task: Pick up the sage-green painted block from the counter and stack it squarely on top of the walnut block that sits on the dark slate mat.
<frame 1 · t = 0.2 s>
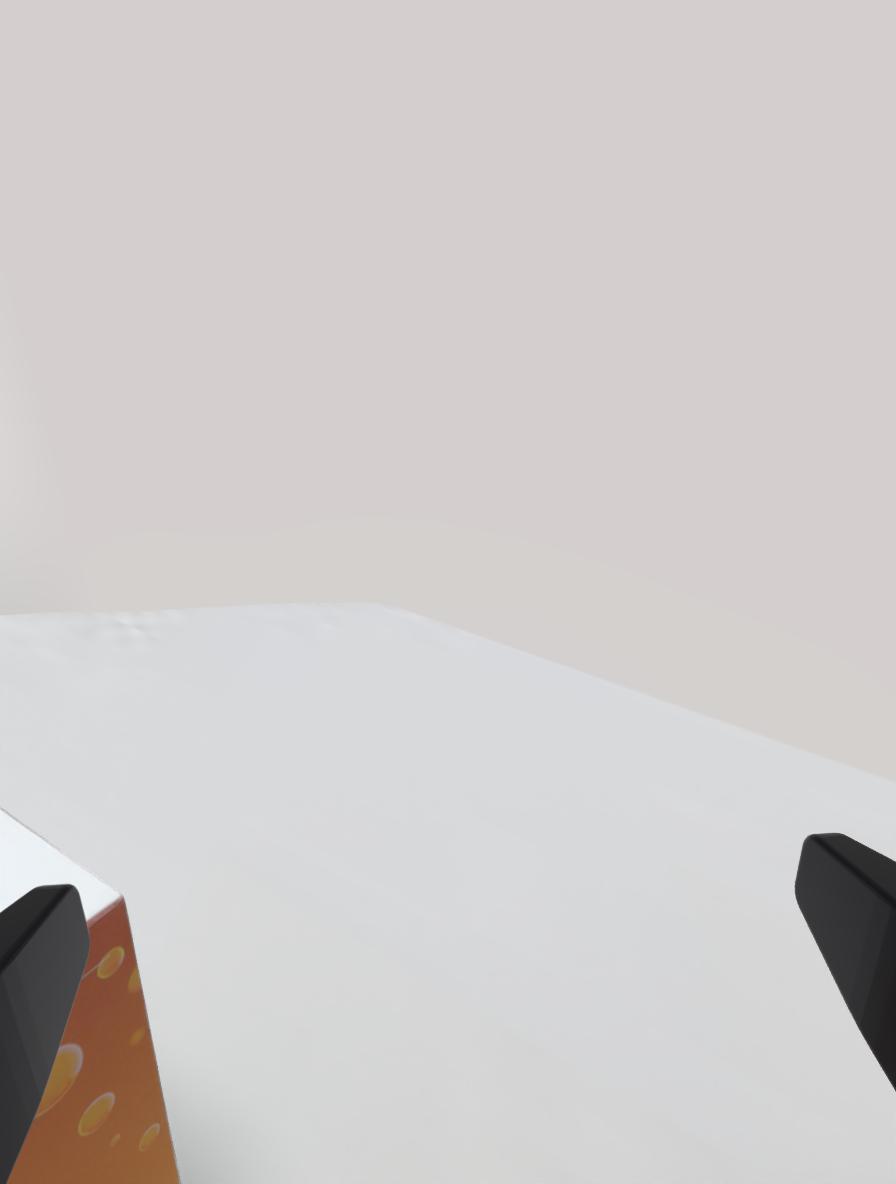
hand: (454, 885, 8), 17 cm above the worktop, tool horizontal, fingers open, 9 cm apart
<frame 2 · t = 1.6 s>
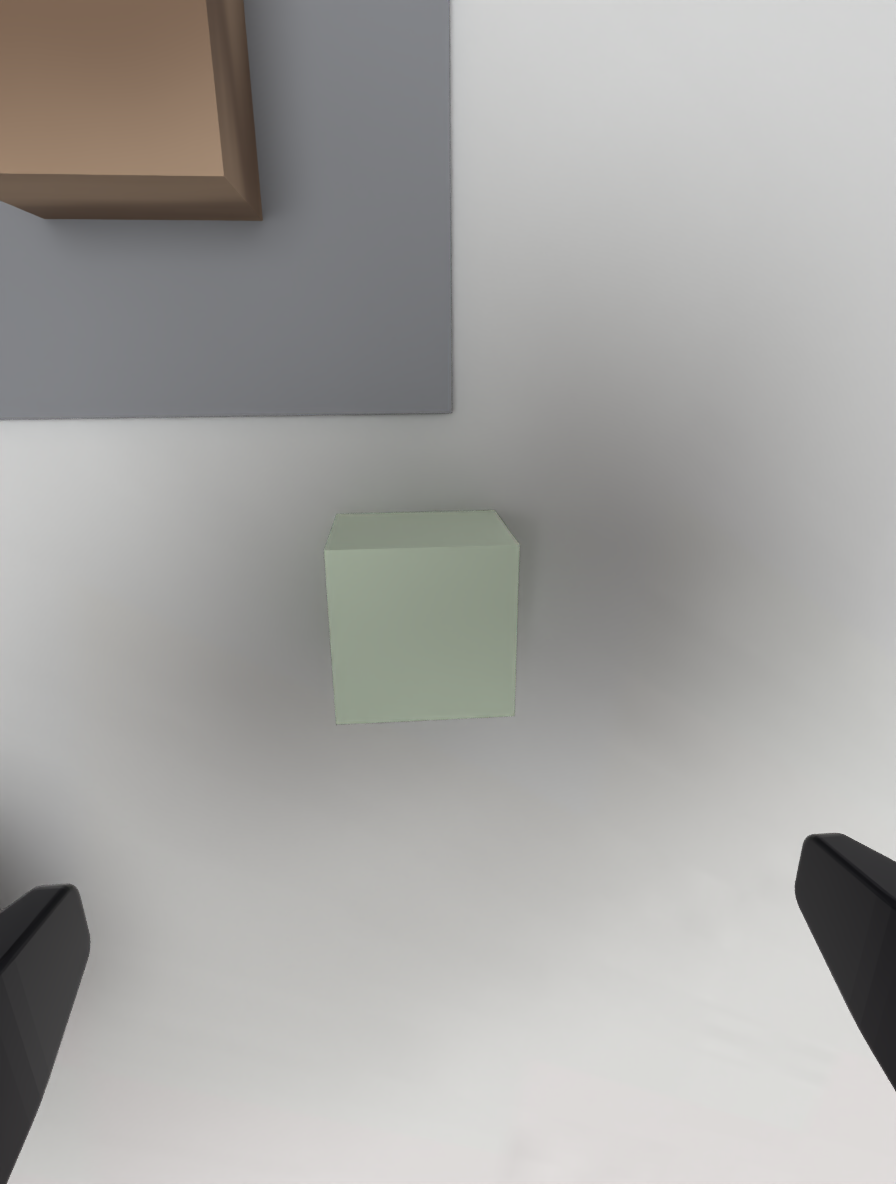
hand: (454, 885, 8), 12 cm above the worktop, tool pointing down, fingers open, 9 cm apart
slate mat: (143, 100, 15), on the worktop
walnut block: (137, 93, 15), resting on slate mat
sage block: (417, 585, 20), on the worktop
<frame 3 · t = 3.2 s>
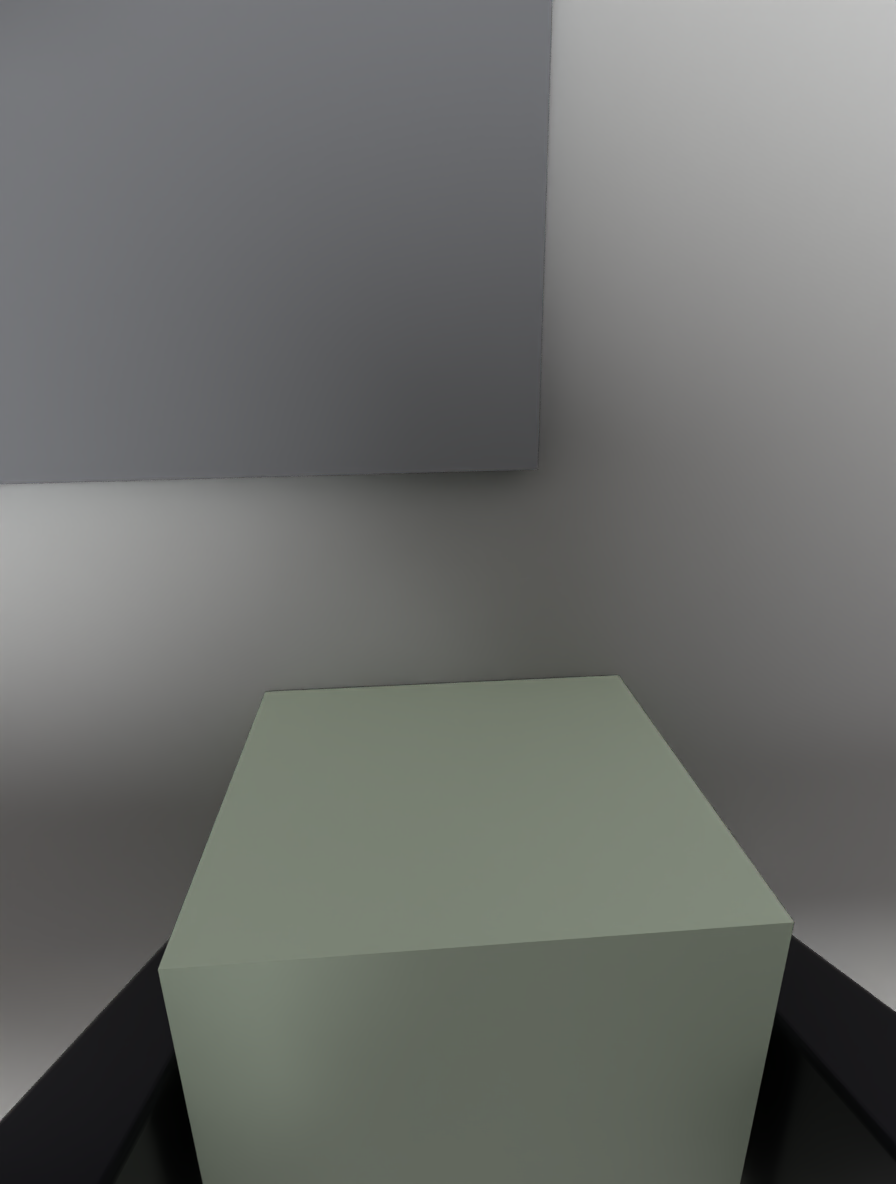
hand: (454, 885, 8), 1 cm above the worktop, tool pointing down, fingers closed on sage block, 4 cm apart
sage block: (447, 829, 9), on the worktop, touching gripper
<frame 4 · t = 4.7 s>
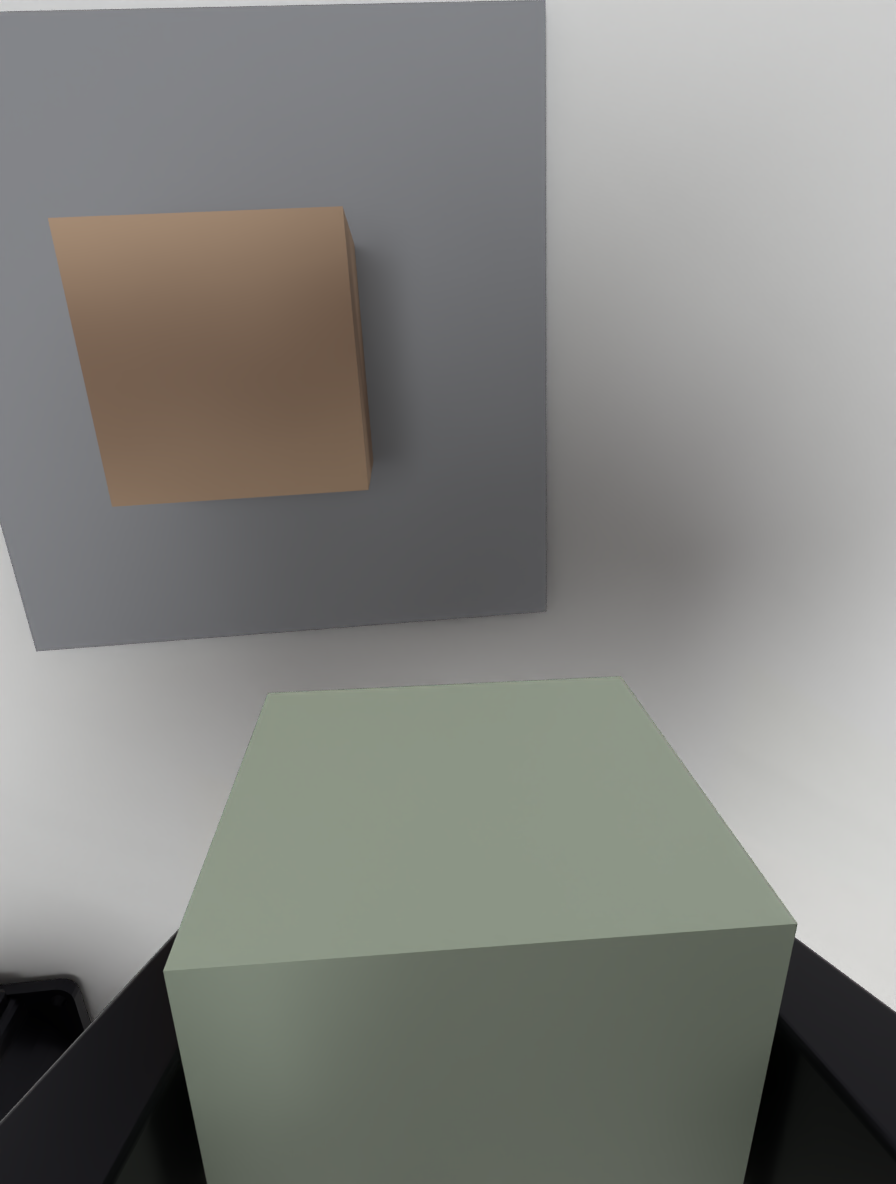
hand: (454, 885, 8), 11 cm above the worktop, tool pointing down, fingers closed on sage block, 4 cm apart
slate mat: (263, 364, 16), on the worktop
walnut block: (260, 364, 16), resting on slate mat
sage block: (449, 830, 9), point 10 cm above the worktop, touching gripper
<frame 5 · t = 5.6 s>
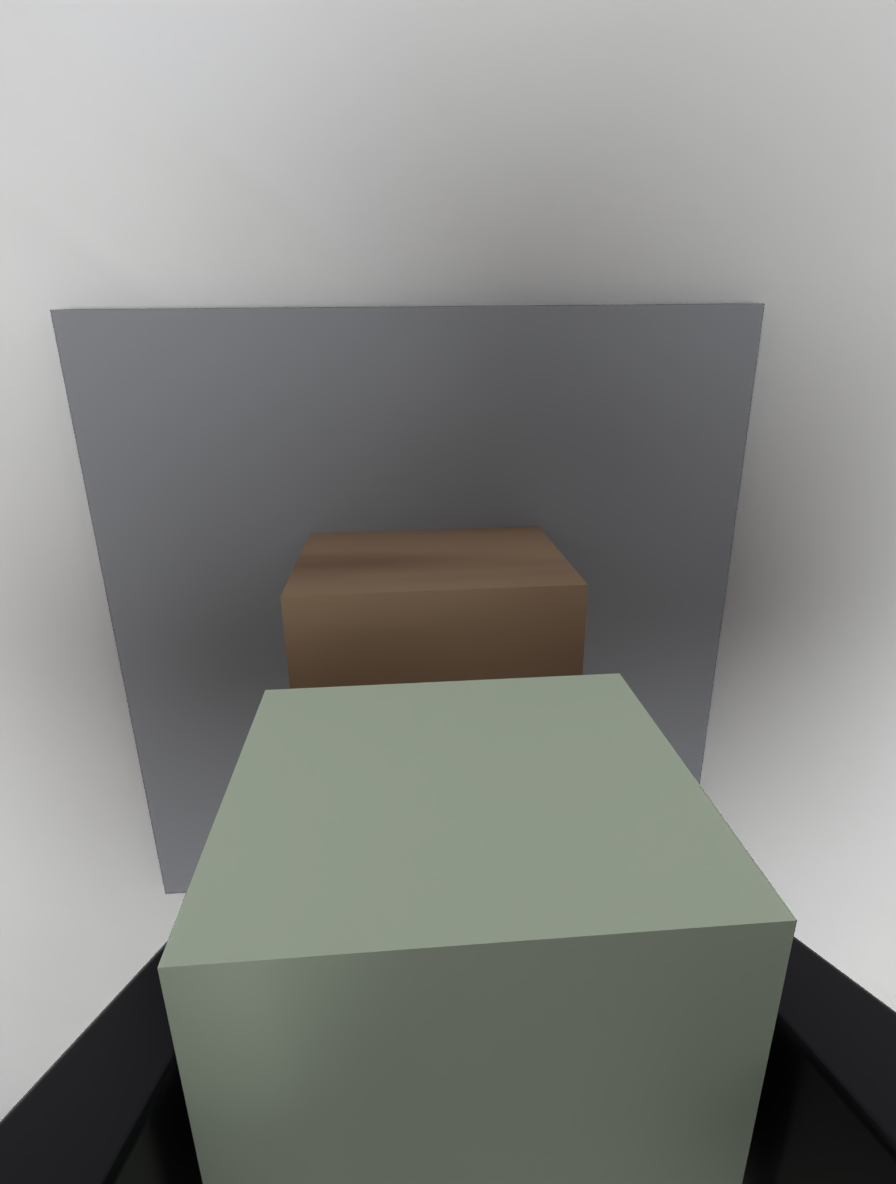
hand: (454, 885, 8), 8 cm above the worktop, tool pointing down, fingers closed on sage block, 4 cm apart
slate mat: (427, 628, 16), on the worktop
walnut block: (428, 634, 15), resting on slate mat
sage block: (447, 827, 9), point 7 cm above the worktop, touching gripper
when the fingers open (7 cm above the worktop, at t = 6.2 s): sage block drops 1 cm, resting on walnut block.
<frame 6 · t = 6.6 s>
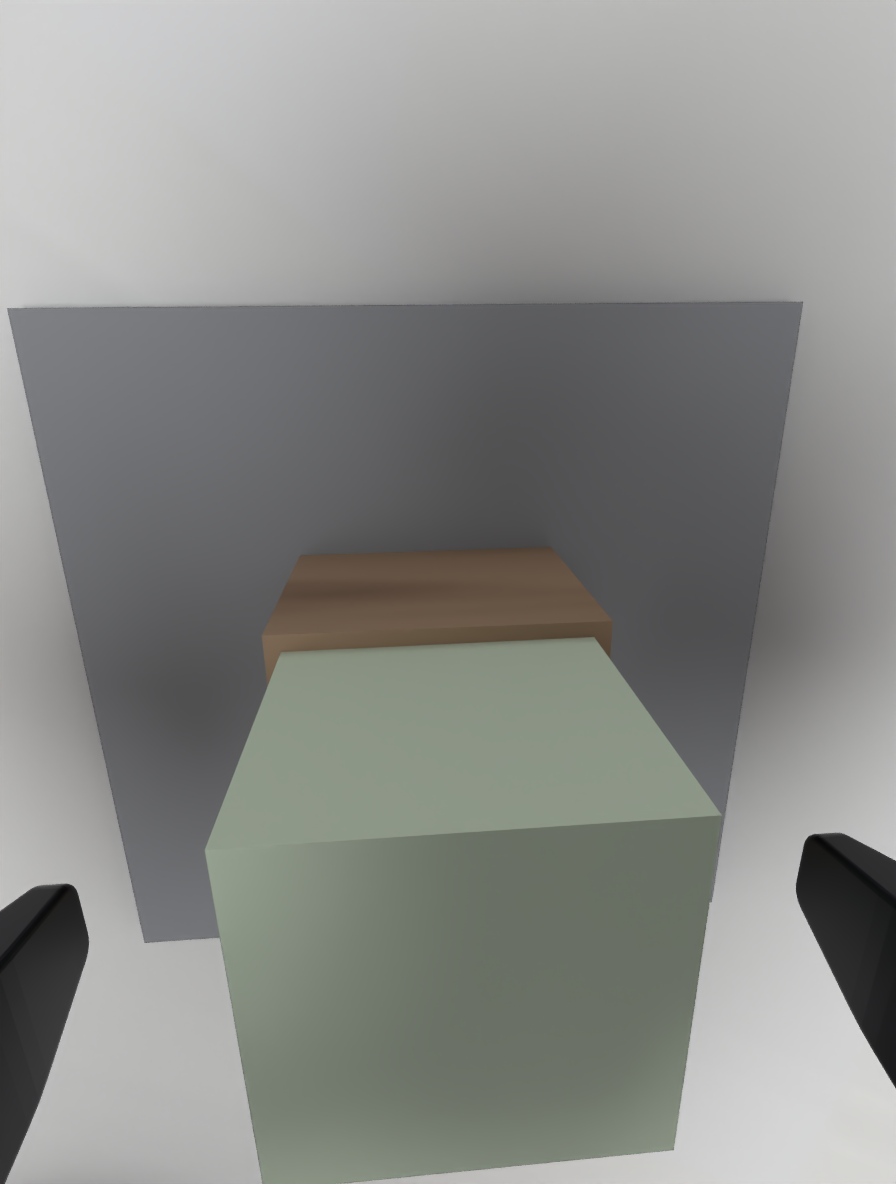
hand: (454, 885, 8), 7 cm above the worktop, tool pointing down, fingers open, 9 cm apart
slate mat: (429, 656, 14), on the worktop
walnut block: (430, 664, 14), resting on slate mat, touching sage block
sage block: (443, 777, 10), point 4 cm above the worktop, touching walnut block
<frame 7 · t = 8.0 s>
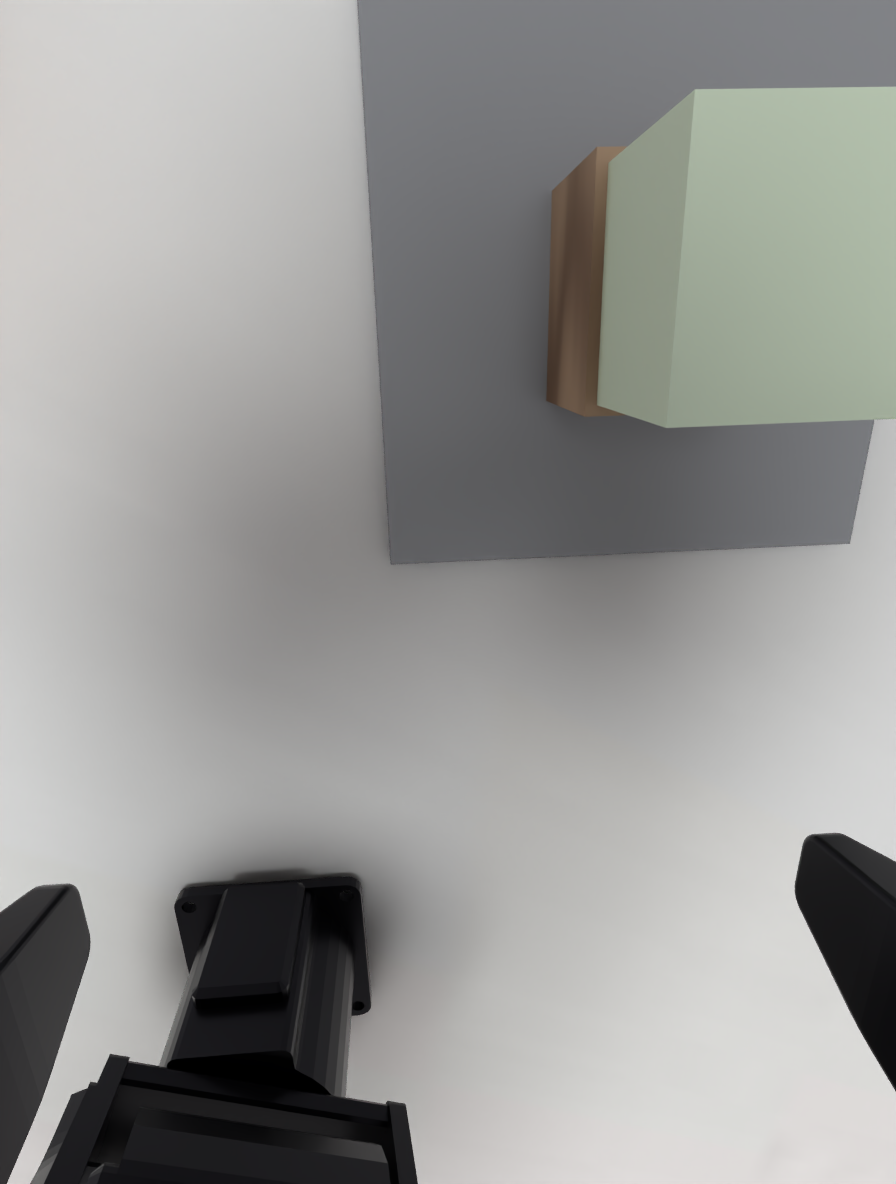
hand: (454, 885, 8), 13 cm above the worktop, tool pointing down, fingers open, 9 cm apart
slate mat: (638, 299, 18), on the worktop
walnut block: (643, 299, 17), resting on slate mat, touching sage block
sage block: (709, 287, 14), point 4 cm above the worktop, touching walnut block
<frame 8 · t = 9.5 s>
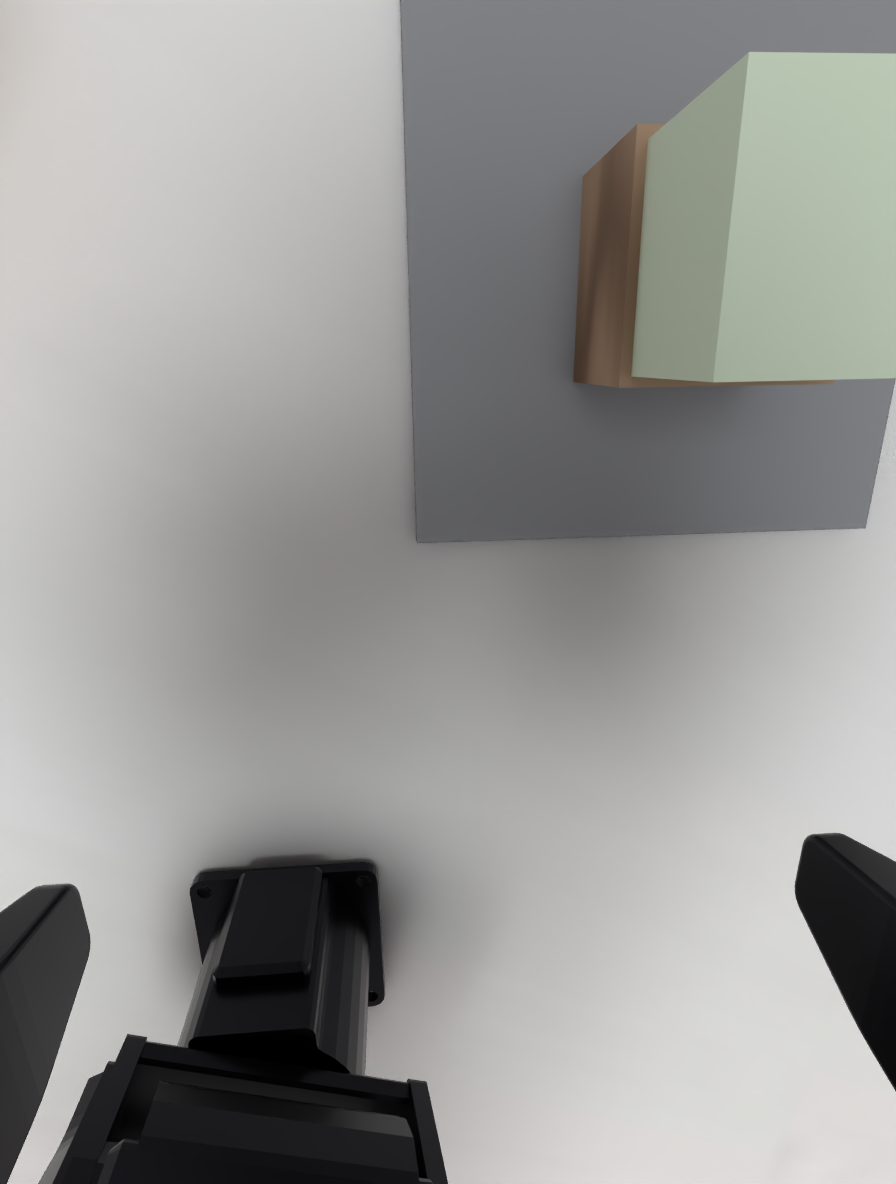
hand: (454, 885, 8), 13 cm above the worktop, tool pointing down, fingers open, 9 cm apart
slate mat: (663, 284, 18), on the worktop
walnut block: (668, 283, 18), resting on slate mat, touching sage block
sage block: (742, 263, 14), point 4 cm above the worktop, touching walnut block
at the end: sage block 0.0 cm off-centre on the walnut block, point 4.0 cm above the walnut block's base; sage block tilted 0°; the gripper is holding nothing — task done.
